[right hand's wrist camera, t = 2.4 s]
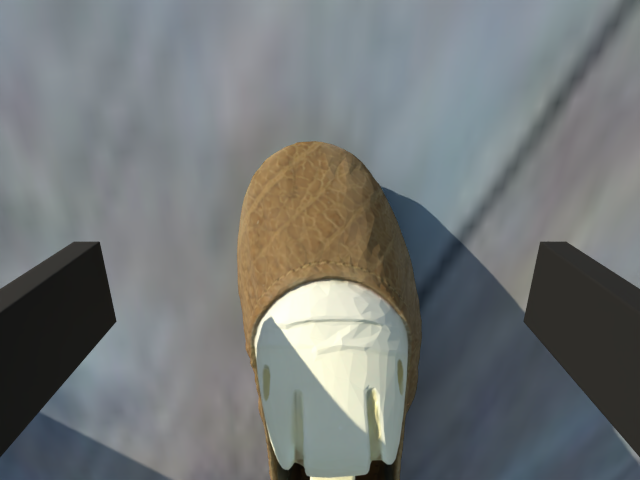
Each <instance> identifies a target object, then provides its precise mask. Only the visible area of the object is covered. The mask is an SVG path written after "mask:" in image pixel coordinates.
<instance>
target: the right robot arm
mask: <svg viewBox="0 0 640 480" xmlns="http://www.w3.org/2000/svg"><path fill="white" fill-rule="evenodd" d="M115 322H116V317H115V312H114V308H113V303H112V298H111V293H110V289H109V284H108V279H107V274H106V270H105V265H104V260H103V255H102V251H101V246H100V242H73V243H71V244H70V245H68V246H67V247H65V248H63V249H62V250H60V251H59V252H57V253H56V254H54V255H53V256H51V257H49V258H48V259H46V260H45V261H43V262H42V263H40V264H39V265H37V266H35V267H34V268H32V269H31V270H29V271H28V272H26V273H25V274H23V275H21V276H20V277H18V278H17V279H15V280H14V281H12V282H11V283H9V284H7V285H6V286H4V287H3V288H1V289H0V457H1V456H2V454H3V453H4V452H5V451H6V450H7V449H8V447H9V446H10V445H11V444H12V443H13V442H14V440H15V439H16V438H17V437H18V436H19V435H20V433H21V432H22V431H23V430H24V429H25V428H26V426H27V425H28V424H29V423H30V422H31V421H32V419H33V418H34V417H35V416H36V415H37V414H38V412H39V411H40V410H41V409H42V408H43V407H44V405H45V404H46V403H47V402H48V401H49V400H50V398H51V397H52V396H53V395H54V394H55V393H56V391H57V390H58V389H59V388H60V387H61V386H62V384H63V383H64V382H65V381H66V380H67V379H68V377H69V376H70V375H71V374H72V373H73V372H74V370H75V369H76V368H77V367H78V366H79V365H80V363H81V362H82V361H83V360H84V359H85V358H86V356H87V355H88V354H89V353H90V352H91V351H92V349H93V348H94V347H95V346H96V345H97V344H98V342H99V341H100V340H101V339H102V338H103V337H104V335H105V334H106V333H107V332H108V331H109V329H110V328H111V327H112V326H113V325H114V324H115ZM524 322H525V324H526V325H527V326H528V327H529V328H530V330H531V331H532V332H533V333H534V334H535V335H536V337H537V338H538V339H539V340H540V341H541V342H542V344H543V345H544V346H545V347H546V348H547V349H548V351H549V352H550V353H551V354H552V355H553V356H554V358H555V359H556V360H557V361H558V362H559V363H560V365H561V366H562V367H563V368H564V369H565V370H566V372H567V373H568V374H569V375H570V376H571V377H572V379H573V380H574V381H575V382H576V383H577V384H578V386H579V387H580V388H581V389H582V390H583V391H584V393H585V394H586V395H587V396H588V397H589V398H590V400H591V401H592V402H593V403H594V404H595V405H596V407H597V408H598V409H599V410H600V411H601V412H602V414H603V415H604V416H605V417H606V418H607V419H608V421H609V422H610V423H611V424H612V425H613V426H614V428H615V429H616V430H617V431H618V432H619V433H620V435H621V436H622V437H623V438H624V439H625V440H626V442H627V443H628V444H629V445H630V446H631V447H632V449H633V450H634V451H635V452H636V453H637V454H638V456H639V457H640V289H639V288H637V287H636V286H634V285H633V284H631V283H629V282H628V281H626V280H625V279H623V278H622V277H620V276H619V275H617V274H615V273H614V272H612V271H611V270H609V269H608V268H606V267H605V266H603V265H601V264H600V263H598V262H597V261H595V260H594V259H592V258H591V257H589V256H587V255H586V254H584V253H583V252H581V251H580V250H578V249H577V248H575V247H573V246H572V245H570V244H569V243H567V242H540V246H539V250H538V255H537V260H536V265H535V270H534V274H533V279H532V284H531V289H530V293H529V298H528V303H527V308H526V312H525V317H524Z"/></svg>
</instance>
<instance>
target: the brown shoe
mask: <svg viewBox="0 0 640 480" xmlns="http://www.w3.org/2000/svg"><path fill="white" fill-rule="evenodd" d="M237 262H238V289H239V296H240V300H241V307H242V312H243V324H244V332H245V338H246V351H247V353H248V355H249V357H250V363H251V366H252V368H253V370H254V373H255V382H256V385H257V392H258V395H259V412H260V416H261V418H262V421H263V423H264V427H265V434H266V442H267V449H268V458H269V467H270V470H269V474H270V477H271V480H400V468H401V457H402V450H403V439H404V426H405V417H406V413H407V412H408V410H409V408H410V405H411V403H412V401H413V399H414V397H415V393H416V389H417V382H418V363H419V358H420V346H421V339H422V332H421V322H422V321H421V316H420V310H419V299H418V294H417V290H416V285H415V280H414V273H413V268H412V264H411V259H410V256H409V253H408V250H407V247H406V244H405V241H404V239H403V236H402V233H401V230H400V227H399V225H398V222H397V220H396V217H395V215H394V213H393V211H392V209H391V207H390V205H389V203H388V201H387V199H386V197H385V195H384V193H383V191H382V189H381V187H380V185H379V184H378V183H377V182H376V180H375V179H374V178H373V176H372V175H371V173H370V171H369V170H368V169H367V168H366V167H365V165H364V164H363V163H362V162H361V161H360V160H359V159H358V158H356V157H355V156H354V155H353V154H351V153H349V152H348V151H346V150H344V149H342V148H339V147H337V146H335V145H332V144H328V143H323V142H316V141H313V142H298V143H295V144H293V145H290V146H287V147H285V148H283V149H281V150H280V151H278V152H276V153H275V154H273V155H272V156H270V157H269V158H268V159H266V161H265V162H264V163H263V164H262V165H261V167H260V168H259V169H258V170H257V171H256V173H255V174H254V176H253V178H252V180H251V182H250V185H249V187H248V189H247V192H246V195H245V198H244V202H243V206H242V212H241V218H240V226H239V234H238V247H237Z"/></svg>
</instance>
